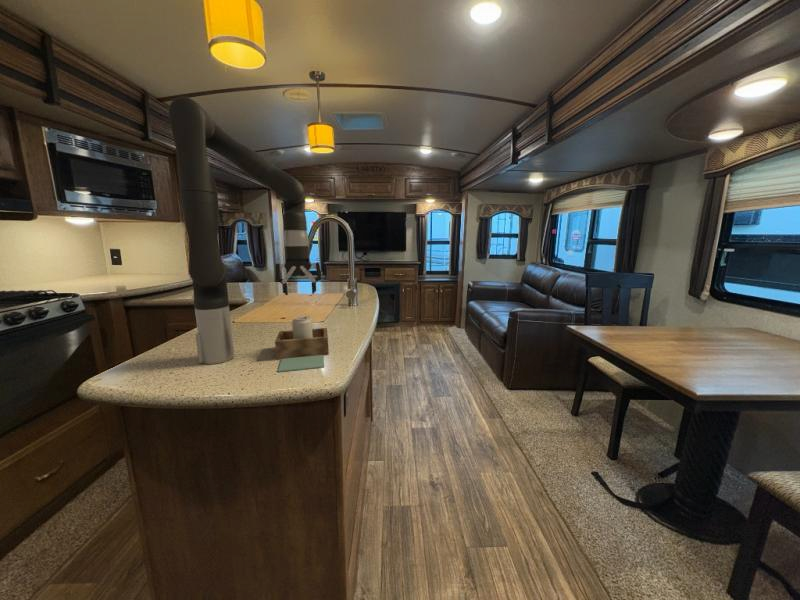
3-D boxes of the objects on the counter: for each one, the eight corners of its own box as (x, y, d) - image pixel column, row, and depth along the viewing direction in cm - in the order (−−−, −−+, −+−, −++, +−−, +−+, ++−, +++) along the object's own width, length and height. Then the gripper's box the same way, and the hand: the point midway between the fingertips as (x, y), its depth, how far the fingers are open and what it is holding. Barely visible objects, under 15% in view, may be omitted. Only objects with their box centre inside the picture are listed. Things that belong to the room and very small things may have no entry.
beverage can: (307, 354, 103) (305, 319, 101) (290, 353, 104) (288, 319, 102) (316, 348, 109) (314, 315, 107) (300, 347, 110) (298, 314, 108)
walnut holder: (276, 359, 98) (275, 341, 97) (280, 347, 110) (279, 331, 109) (328, 354, 103) (327, 337, 102) (327, 343, 114) (326, 327, 113)
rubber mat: (278, 372, 89) (277, 371, 89) (281, 359, 98) (281, 358, 98) (324, 367, 92) (324, 366, 92) (323, 356, 101) (323, 354, 101)
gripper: (271, 245, 95) (276, 297, 98) (319, 244, 98) (322, 294, 101) (274, 245, 102) (278, 293, 105) (319, 244, 105) (321, 291, 108)
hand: (300, 294), depth 103 cm, fingers open, 8 cm apart
